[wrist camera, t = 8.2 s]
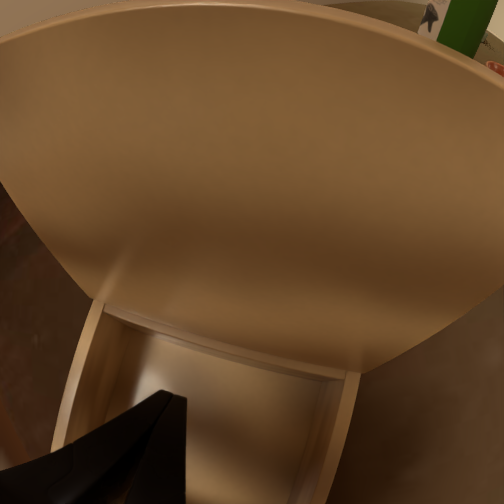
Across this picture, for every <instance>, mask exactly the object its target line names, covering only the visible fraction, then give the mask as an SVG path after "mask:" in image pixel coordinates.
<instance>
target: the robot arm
mask: <svg viewBox="0 0 504 504" xmlns="http://www.w3.org/2000/svg"><path fill="white" fill-rule="evenodd" d="M187 401H188V400H187V398H186V397H183V396H180V395H177V394H175V395H174V394H173V393H172V392H169V391H166V390H163V389H161V390H158V391H157V392H155V393H154V394H152V395H151V396H149V397H147V398H146V399H144V400H143V401H141V402H139V403H138V404H136V405H135V406H133V407H131V408H130V409H128V410H126V411H125V412H123V413H121V414H120V415H118V416H116V417H115V418H113V419H111V420H110V421H108V422H106V423H105V424H103V425H101V426H99V427H98V428H96V429H94V430H93V431H91V432H89V433H87V434H86V435H84V436H82V437H80V438H78V439H77V440H75V441H73V443H69V444H67V445H66V446H64V447H62V448H60V449H58V450H56V451H54V452H52V453H50V454H48V455H45V456H43V457H40V458H38V459H35V460H32V461H29V462H27V463H24V464H21V465H18V466H15V467H12V468H8V469H5V470H2V471H0V504H186V431H187Z"/></svg>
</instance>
